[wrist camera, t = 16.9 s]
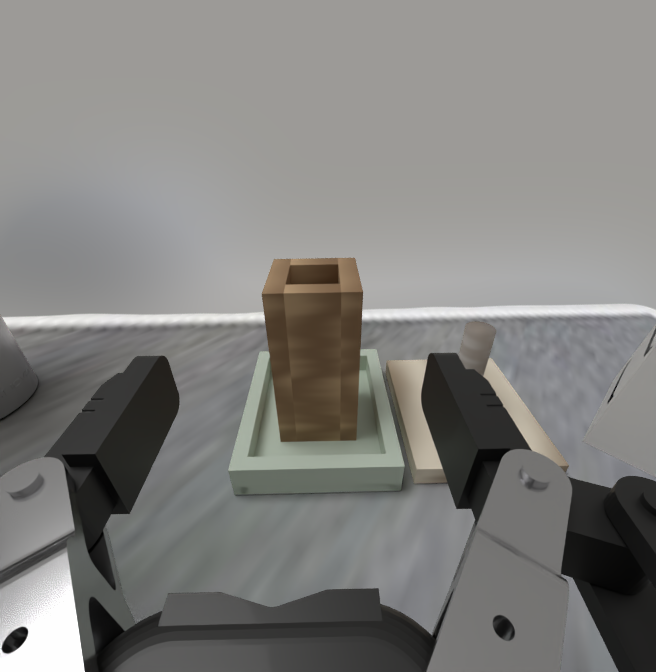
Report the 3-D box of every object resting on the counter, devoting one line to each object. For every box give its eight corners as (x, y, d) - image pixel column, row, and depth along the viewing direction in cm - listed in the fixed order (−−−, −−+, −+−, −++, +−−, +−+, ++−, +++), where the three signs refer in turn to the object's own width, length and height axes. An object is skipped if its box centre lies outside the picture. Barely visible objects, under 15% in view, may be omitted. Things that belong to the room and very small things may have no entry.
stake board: (414, 483, 23) (432, 387, 19) (385, 373, 33) (393, 293, 29) (561, 480, 23) (615, 382, 19) (487, 370, 33) (511, 290, 29)
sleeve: (280, 441, 25) (261, 293, 19) (287, 391, 30) (273, 259, 24) (356, 440, 25) (363, 291, 19) (351, 390, 30) (354, 257, 24)
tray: (234, 494, 23) (228, 470, 21) (262, 372, 34) (259, 351, 32) (400, 490, 23) (404, 466, 21) (374, 370, 34) (376, 349, 32)
